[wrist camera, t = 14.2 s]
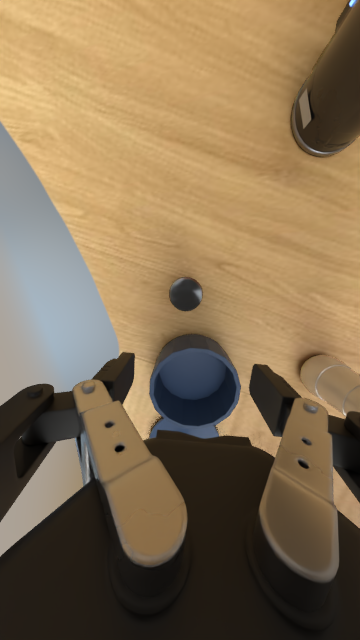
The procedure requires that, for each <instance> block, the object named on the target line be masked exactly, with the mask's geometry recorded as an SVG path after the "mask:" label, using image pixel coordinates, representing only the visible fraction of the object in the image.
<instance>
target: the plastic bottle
mask: <svg viewBox="0 0 360 640" xmlns="http://www.w3.org/2000/svg"><path fill="white" fill-rule="evenodd" d="M301 381H302V383H303V384H304V385H305V387H306V388H307V389H308V391H309V392H311V393H312V394H313V395H315V396H317V397H318V398H320V399H322V400H324V401H326V402H327V403H328V404H330V405H331V406H333V407H334V408H335V409H337V410H338V411H340V412H341V413H342V414H343V415H344V416H345V417H346V415H347V413H348V412H349V411H356V412H360V375H359V374H358V373H356V372H355V371H353V370H352V369H351V368H350V367H348V366H347V365H346V364H345V363H343V362H342V361H340V360H339V359H337V358H334V357H330V356H327V355H317V356H314V357H311V358H309V359H308V360H306V361H305V363H304V364H303V365H302V368H301Z"/></svg>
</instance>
